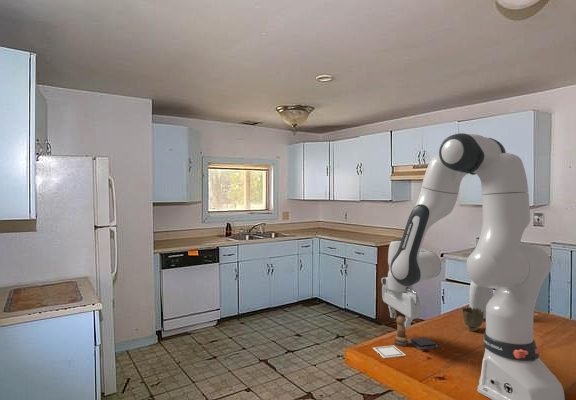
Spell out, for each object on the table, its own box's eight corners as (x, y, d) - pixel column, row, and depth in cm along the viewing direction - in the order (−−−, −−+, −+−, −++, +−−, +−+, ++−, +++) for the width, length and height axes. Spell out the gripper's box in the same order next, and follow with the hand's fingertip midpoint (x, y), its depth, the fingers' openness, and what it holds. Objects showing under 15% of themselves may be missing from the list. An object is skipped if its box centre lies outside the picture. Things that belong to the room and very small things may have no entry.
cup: (487, 333, 140) (487, 312, 140) (467, 333, 140) (467, 312, 140) (477, 326, 148) (477, 306, 147) (459, 326, 148) (459, 306, 148)
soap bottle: (482, 324, 151) (482, 257, 150) (463, 318, 157) (464, 254, 157) (501, 317, 158) (502, 254, 158) (483, 312, 165) (483, 251, 165)
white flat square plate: (406, 355, 122) (406, 354, 122) (383, 358, 120) (383, 357, 120) (393, 345, 130) (393, 345, 130) (372, 348, 128) (372, 347, 128)
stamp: (410, 345, 130) (410, 317, 130) (398, 347, 129) (398, 318, 129) (403, 340, 134) (403, 313, 134) (392, 342, 133) (392, 314, 133)
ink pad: (438, 347, 128) (438, 344, 128) (419, 349, 126) (419, 346, 126) (426, 339, 135) (426, 336, 135) (408, 341, 133) (408, 338, 133)
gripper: (425, 291, 122) (425, 333, 123) (394, 276, 142) (393, 312, 142) (408, 292, 121) (407, 334, 121) (379, 277, 140) (378, 313, 141)
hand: (400, 322), depth 132 cm, fingers open, 8 cm apart
